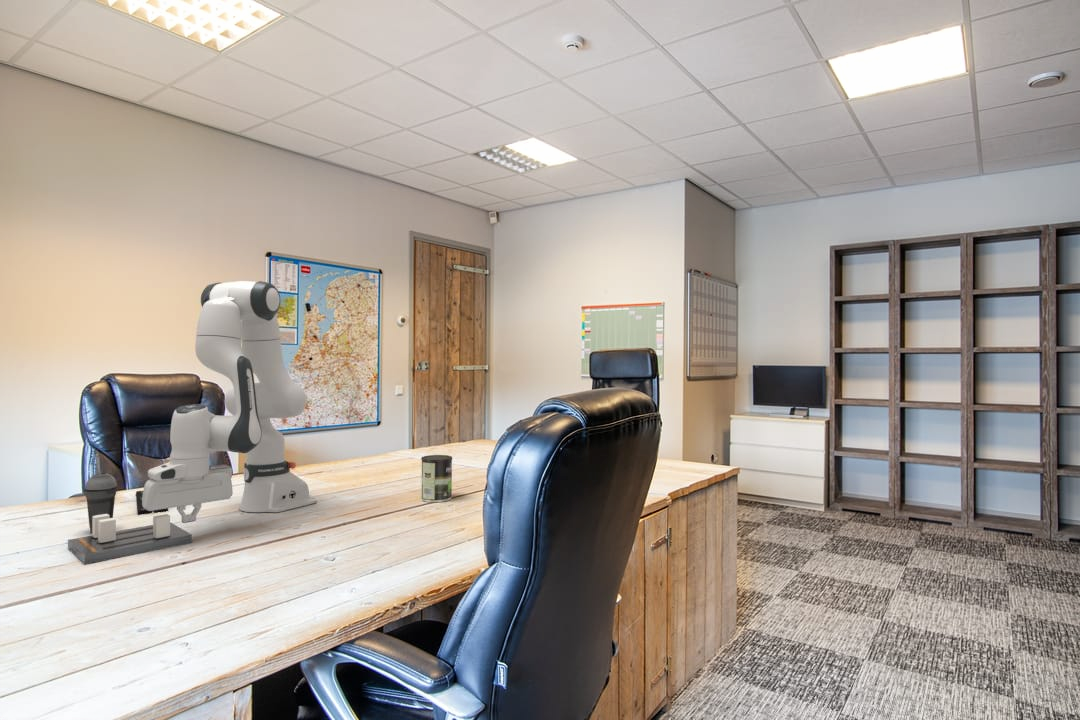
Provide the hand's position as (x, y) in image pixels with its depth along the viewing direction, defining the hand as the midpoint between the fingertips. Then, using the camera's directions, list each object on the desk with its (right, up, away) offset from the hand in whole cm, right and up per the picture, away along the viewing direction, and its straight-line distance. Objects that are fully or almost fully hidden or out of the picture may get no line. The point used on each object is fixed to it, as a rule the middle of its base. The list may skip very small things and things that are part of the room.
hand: (188, 521), depth 152 cm
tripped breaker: (-4, -2, -5) cm, 7 cm away
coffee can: (+56, -5, +47) cm, 73 cm away
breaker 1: (-19, -2, -5) cm, 20 cm away
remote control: (-35, -5, +38) cm, 52 cm away
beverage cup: (-28, -5, +7) cm, 29 cm away
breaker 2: (-15, -2, -8) cm, 17 cm away
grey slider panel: (-12, -5, -5) cm, 13 cm away
